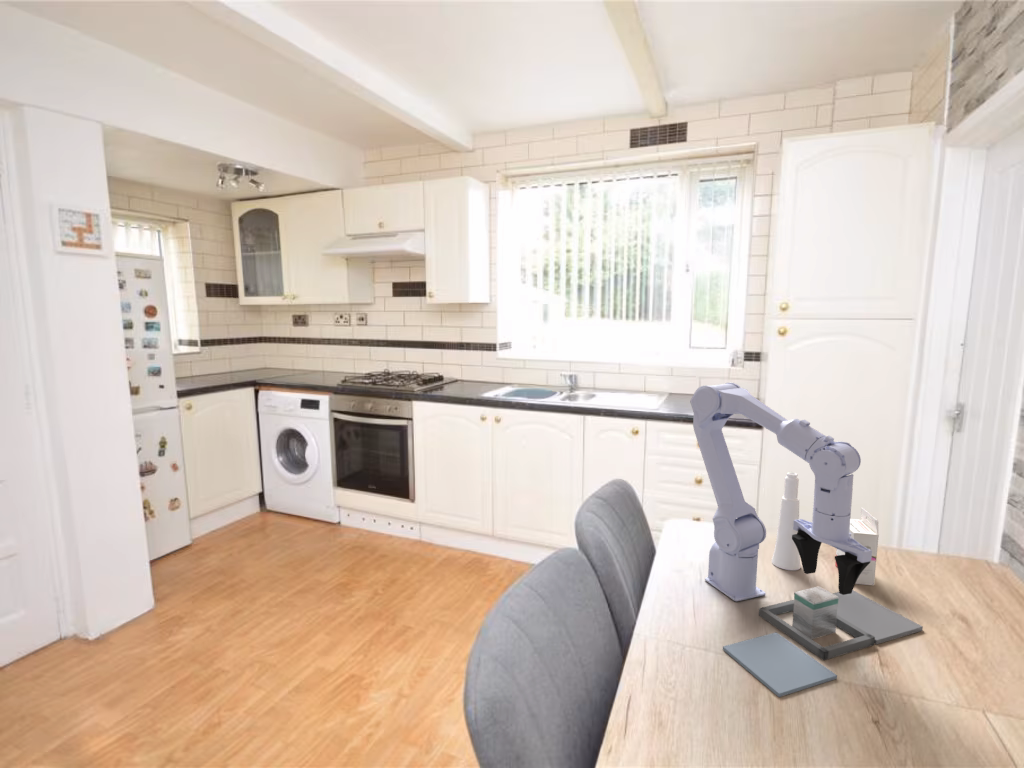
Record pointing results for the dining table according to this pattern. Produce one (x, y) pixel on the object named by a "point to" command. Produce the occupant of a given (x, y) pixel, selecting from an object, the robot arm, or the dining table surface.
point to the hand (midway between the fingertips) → (826, 582)
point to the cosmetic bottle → (787, 526)
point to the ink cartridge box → (865, 544)
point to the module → (815, 612)
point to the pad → (779, 664)
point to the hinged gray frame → (848, 624)
